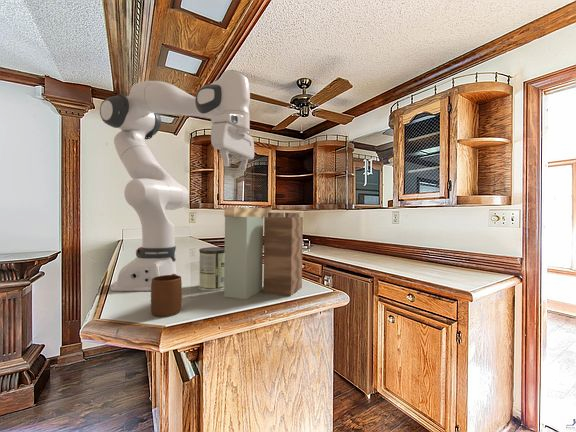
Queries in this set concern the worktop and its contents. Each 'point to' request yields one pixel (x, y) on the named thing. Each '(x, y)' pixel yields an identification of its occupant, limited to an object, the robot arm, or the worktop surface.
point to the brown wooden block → (282, 253)
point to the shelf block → (243, 256)
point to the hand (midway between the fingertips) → (234, 168)
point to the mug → (166, 295)
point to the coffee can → (212, 268)
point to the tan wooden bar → (246, 212)
